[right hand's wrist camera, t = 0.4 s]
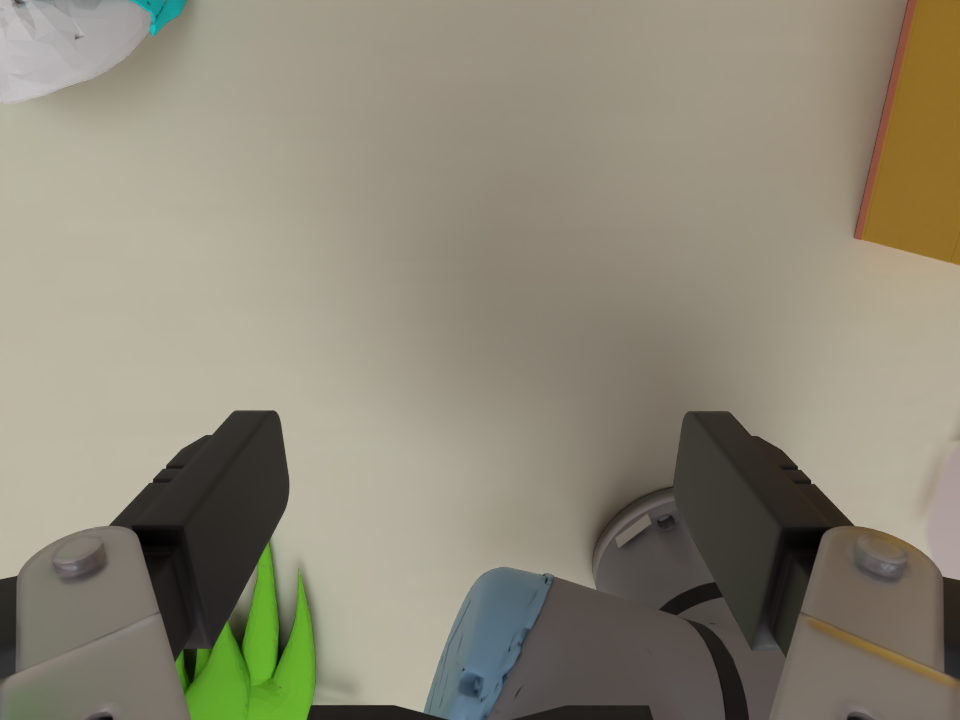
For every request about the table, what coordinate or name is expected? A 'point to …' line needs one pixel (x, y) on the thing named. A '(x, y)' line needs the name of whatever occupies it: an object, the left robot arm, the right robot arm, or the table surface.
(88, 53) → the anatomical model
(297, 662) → the toy
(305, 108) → the table surface
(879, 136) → the cabinet
